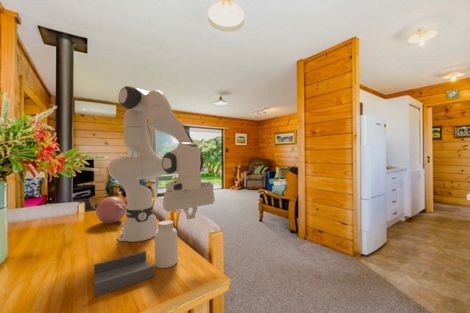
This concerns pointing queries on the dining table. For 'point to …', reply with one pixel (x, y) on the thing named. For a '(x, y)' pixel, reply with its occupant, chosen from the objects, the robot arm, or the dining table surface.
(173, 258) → the pill bottle
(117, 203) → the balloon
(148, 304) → the dining table surface
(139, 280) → the u rest
